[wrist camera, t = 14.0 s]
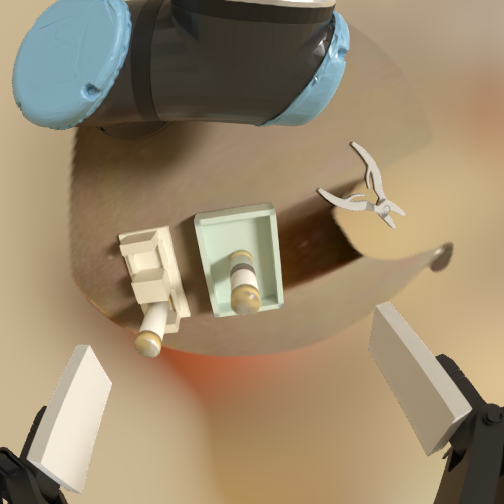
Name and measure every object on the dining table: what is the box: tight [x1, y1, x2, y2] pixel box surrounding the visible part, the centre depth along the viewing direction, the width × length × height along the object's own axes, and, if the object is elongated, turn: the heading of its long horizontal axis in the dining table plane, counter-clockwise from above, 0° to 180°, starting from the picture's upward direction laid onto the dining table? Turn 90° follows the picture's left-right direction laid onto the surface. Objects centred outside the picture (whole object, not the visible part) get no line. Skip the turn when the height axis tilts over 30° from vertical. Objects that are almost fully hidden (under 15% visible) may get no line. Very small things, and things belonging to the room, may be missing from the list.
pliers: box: [318, 142, 405, 229], centre depth 42 cm, size 10×2×15 cm
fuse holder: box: [119, 225, 190, 333], centre depth 43 cm, size 16×8×5 cm, turn 7°
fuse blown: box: [230, 250, 261, 316], centre depth 39 cm, size 4×4×12 cm
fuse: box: [135, 295, 172, 357], centre depth 40 cm, size 4×4×12 cm
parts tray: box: [194, 203, 284, 318], centre depth 43 cm, size 16×11×4 cm
